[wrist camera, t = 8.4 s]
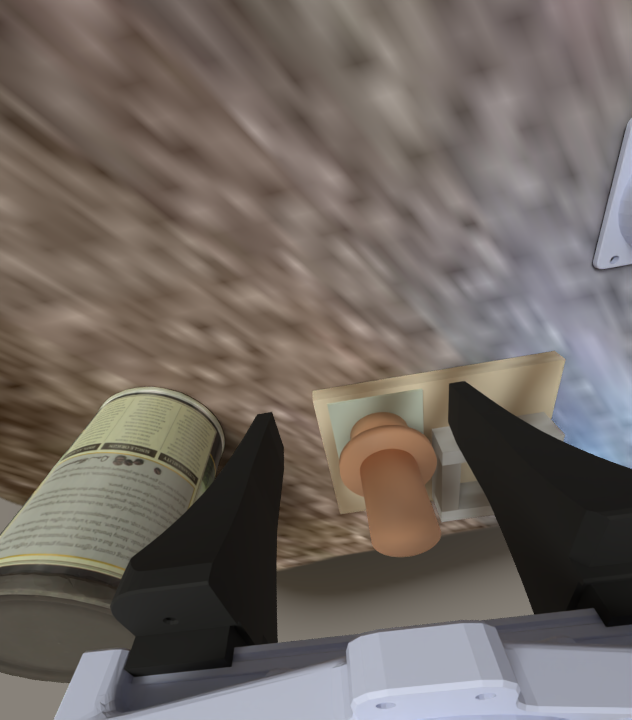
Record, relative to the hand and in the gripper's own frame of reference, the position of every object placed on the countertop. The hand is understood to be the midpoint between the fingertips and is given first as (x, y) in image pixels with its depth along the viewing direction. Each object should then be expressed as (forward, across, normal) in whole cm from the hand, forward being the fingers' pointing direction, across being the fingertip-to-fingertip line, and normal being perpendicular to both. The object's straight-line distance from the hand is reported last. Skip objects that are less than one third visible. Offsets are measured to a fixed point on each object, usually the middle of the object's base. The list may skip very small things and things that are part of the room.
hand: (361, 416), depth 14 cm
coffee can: (+11, +16, +8) cm, 21 cm away
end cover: (+9, -2, +10) cm, 14 cm away
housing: (+10, -6, +13) cm, 18 cm away
